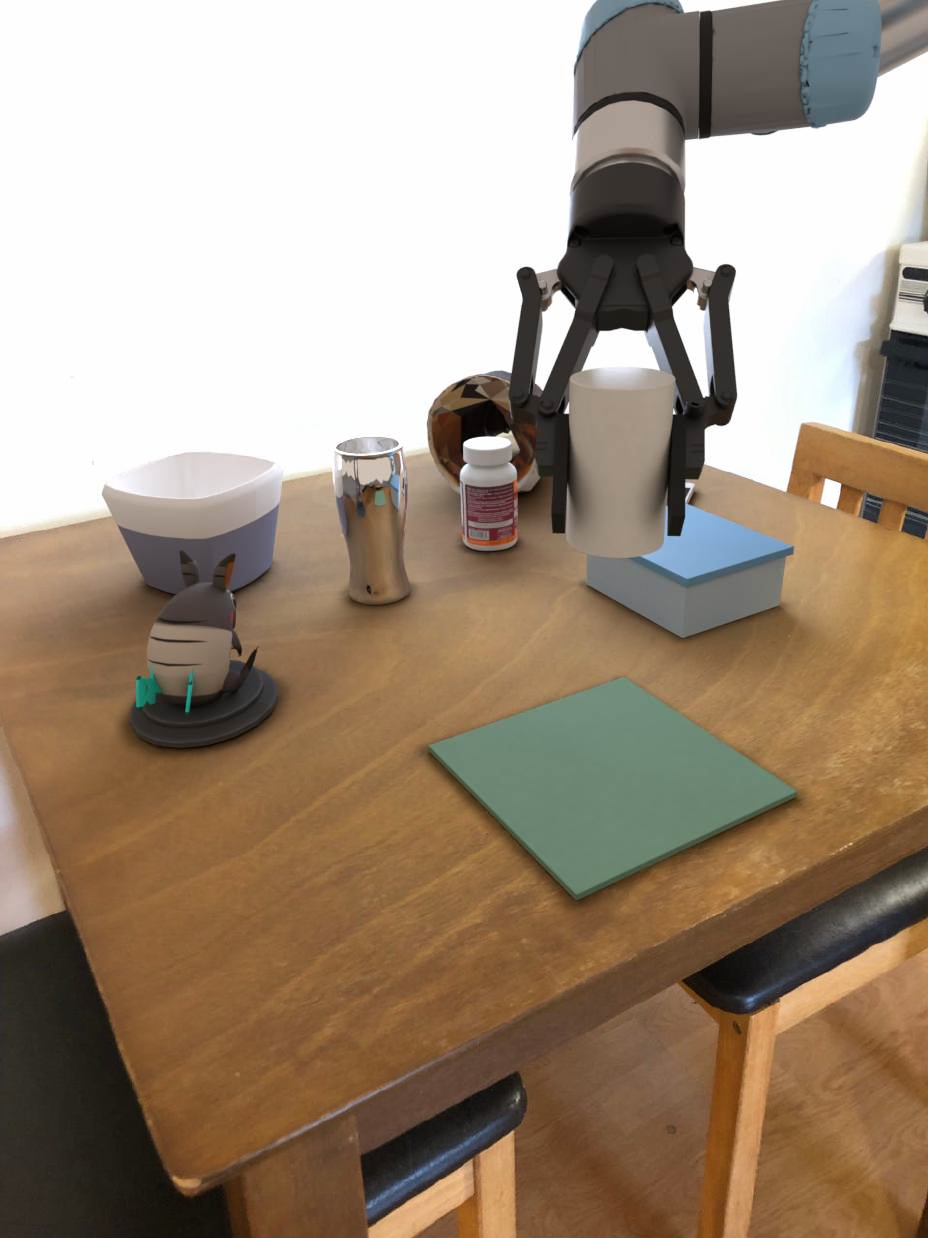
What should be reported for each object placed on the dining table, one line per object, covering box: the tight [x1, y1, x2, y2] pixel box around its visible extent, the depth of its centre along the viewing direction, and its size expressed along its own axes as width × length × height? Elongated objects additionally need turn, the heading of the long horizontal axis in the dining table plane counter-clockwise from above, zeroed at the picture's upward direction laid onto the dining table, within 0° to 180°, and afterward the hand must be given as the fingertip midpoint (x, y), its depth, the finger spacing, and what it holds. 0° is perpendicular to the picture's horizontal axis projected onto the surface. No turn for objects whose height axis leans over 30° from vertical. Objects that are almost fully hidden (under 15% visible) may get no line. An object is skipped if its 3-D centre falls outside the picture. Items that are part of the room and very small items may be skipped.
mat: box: [428, 676, 798, 902], centre depth 65 cm, size 18×18×1 cm
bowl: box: [101, 450, 284, 595], centre depth 96 cm, size 15×15×11 cm
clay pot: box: [426, 370, 544, 495], centre depth 124 cm, size 15×15×25 cm
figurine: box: [129, 550, 279, 749], centre depth 72 cm, size 11×12×12 cm
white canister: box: [565, 366, 675, 558], centre depth 56 cm, size 6×6×10 cm
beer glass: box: [331, 434, 411, 606], centre depth 89 cm, size 7×7×15 cm
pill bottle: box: [460, 436, 519, 552], centre depth 101 cm, size 6×6×11 cm
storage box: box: [585, 503, 795, 639], centre depth 89 cm, size 15×13×6 cm
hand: (616, 524), depth 54 cm, fingers closed on white canister, 6 cm apart
